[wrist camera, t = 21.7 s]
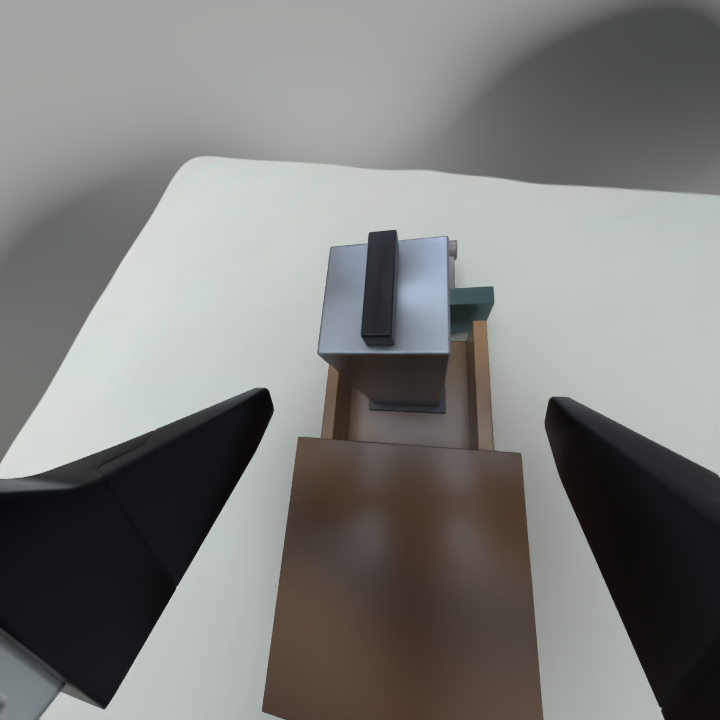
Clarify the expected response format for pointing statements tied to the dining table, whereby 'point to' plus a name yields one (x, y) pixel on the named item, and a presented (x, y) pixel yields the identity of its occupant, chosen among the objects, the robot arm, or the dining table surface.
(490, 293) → the drawer
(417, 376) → the grey box with handle
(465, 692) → the cabinet
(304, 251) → the dining table surface
